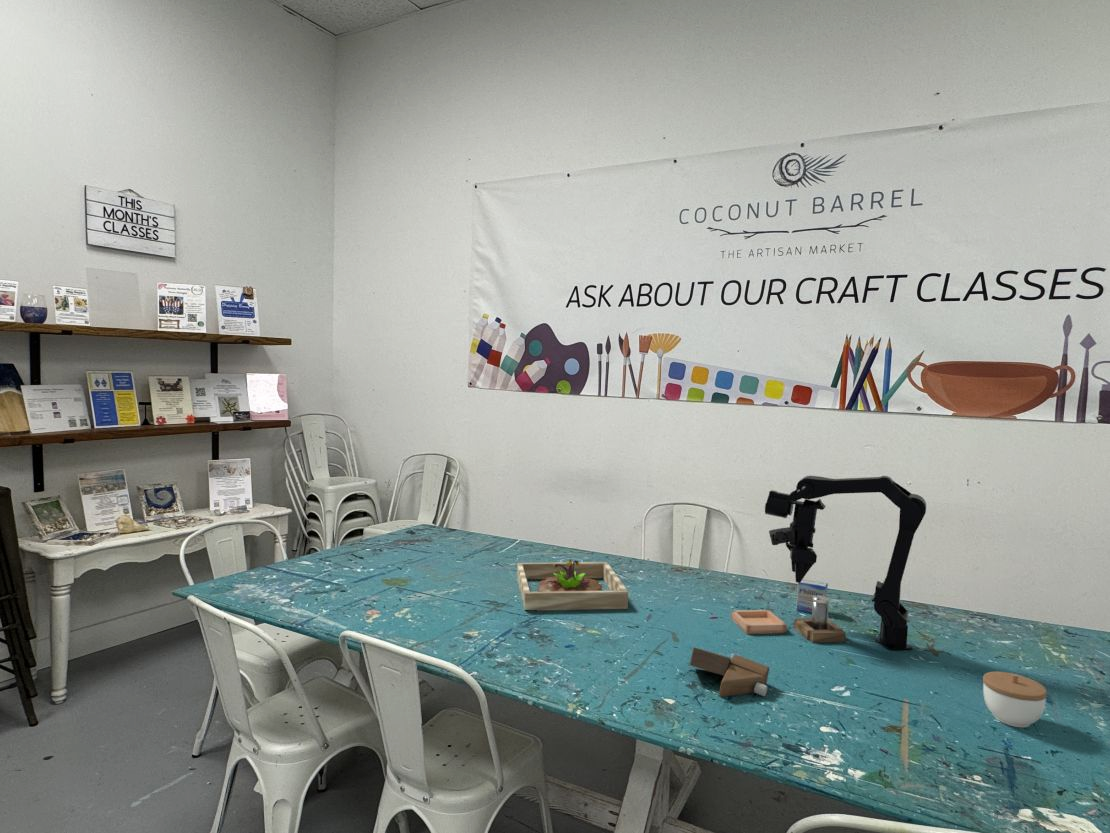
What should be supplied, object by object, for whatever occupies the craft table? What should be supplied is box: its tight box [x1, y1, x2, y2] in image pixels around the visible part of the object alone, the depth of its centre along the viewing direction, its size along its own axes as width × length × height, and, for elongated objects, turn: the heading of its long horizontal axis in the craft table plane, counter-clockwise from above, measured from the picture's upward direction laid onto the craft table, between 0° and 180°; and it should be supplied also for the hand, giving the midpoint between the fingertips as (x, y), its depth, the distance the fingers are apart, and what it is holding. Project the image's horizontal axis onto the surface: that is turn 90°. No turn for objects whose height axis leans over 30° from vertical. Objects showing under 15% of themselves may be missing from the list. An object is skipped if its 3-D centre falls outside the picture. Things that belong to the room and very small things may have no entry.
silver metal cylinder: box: [811, 595, 830, 630], centre depth 179 cm, size 4×4×10 cm
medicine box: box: [795, 578, 829, 614], centre depth 196 cm, size 8×4×9 cm, turn 62°
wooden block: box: [689, 646, 770, 698], centre depth 149 cm, size 8×13×18 cm
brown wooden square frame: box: [793, 617, 846, 643], centre depth 179 cm, size 10×10×2 cm
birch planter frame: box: [516, 561, 629, 611], centre depth 207 cm, size 30×30×5 cm
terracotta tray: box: [730, 609, 788, 635], centre depth 184 cm, size 11×11×2 cm
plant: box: [537, 558, 603, 592], centre depth 207 cm, size 20×20×11 cm
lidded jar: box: [982, 671, 1048, 728], centre depth 136 cm, size 11×11×9 cm
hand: (795, 576), depth 184 cm, fingers open, 9 cm apart
